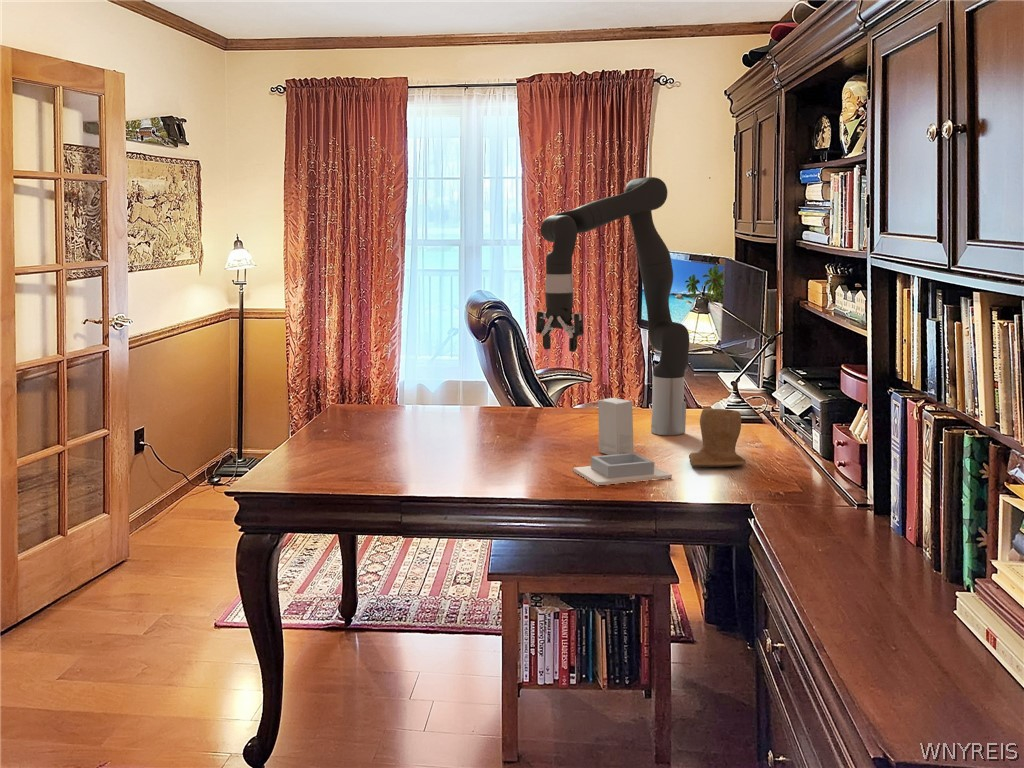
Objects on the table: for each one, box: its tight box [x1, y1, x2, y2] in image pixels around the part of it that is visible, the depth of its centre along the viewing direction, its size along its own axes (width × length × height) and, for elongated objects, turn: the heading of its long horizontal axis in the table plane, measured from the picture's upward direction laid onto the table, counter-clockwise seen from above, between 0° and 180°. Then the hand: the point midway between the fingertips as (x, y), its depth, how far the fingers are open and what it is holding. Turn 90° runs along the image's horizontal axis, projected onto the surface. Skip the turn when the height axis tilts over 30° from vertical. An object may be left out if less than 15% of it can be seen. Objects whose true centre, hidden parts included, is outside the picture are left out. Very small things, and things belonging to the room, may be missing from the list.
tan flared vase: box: [688, 407, 747, 468], centre depth 229 cm, size 15×12×15 cm
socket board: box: [572, 452, 673, 487], centre depth 220 cm, size 20×14×4 cm
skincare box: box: [597, 397, 634, 455], centre depth 241 cm, size 8×6×15 cm
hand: (559, 350), depth 244 cm, fingers open, 8 cm apart
